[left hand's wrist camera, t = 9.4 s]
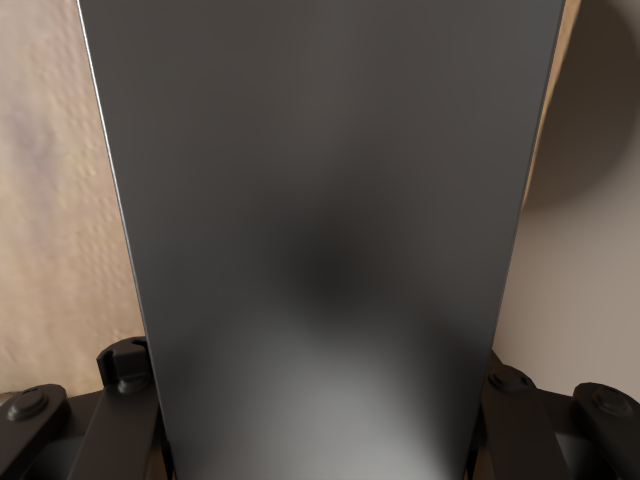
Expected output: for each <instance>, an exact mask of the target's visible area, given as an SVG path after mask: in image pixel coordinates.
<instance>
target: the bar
mask: <svg viewBox="0 0 640 480" xmlns="http://www.w3.org/2000/svg"><path fill="white" fill-rule="evenodd" d="M565 1H566V0H76V3H77V8H78V12H79V17H80V22H81V27H82V32H83V37H84V41H85V46H86V51H87V56H88V61H89V65H90V70H91V75H92V80H93V85H94V90H95V94H96V99H97V104H98V109H99V114H100V118H101V123H102V128H103V133H104V138H105V142H106V147H107V152H108V157H109V162H110V167H111V171H112V176H113V181H114V186H115V191H116V195H117V200H118V205H119V210H120V215H121V220H122V224H123V229H124V234H125V239H126V244H127V248H128V253H129V258H130V263H131V268H132V273H133V277H134V282H135V287H136V292H137V297H138V301H139V306H140V311H141V316H142V321H143V325H144V330H145V335H146V340H147V345H148V350H149V354H150V359H151V364H152V369H153V374H154V378H155V383H156V388H157V393H158V398H159V403H160V407H161V412H162V417H163V422H164V427H165V431H166V436H167V441H168V446H169V451H170V455H171V460H172V465H173V470H174V475H175V480H464V477H465V473H466V468H467V463H468V459H469V454H470V449H471V444H472V440H473V435H474V430H475V426H476V421H477V416H478V411H479V407H480V402H481V397H482V393H483V388H484V383H485V378H486V374H487V369H488V364H489V360H490V355H491V350H492V345H493V341H494V336H495V331H496V326H497V322H498V317H499V312H500V308H501V303H502V298H503V293H504V289H505V284H506V279H507V275H508V270H509V265H510V260H511V256H512V251H513V246H514V242H515V237H516V232H517V227H518V223H519V218H520V213H521V209H522V204H523V199H524V194H525V190H526V185H527V180H528V176H529V171H530V166H531V161H532V157H533V152H534V147H535V143H536V138H537V133H538V128H539V124H540V119H541V114H542V110H543V105H544V100H545V95H546V91H547V86H548V81H549V77H550V72H551V67H552V62H553V58H554V53H555V48H556V44H557V39H558V34H559V29H560V25H561V20H562V15H563V11H564V6H565Z"/></svg>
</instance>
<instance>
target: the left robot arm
mask: <svg viewBox="0 0 640 480" xmlns="http://www.w3.org/2000/svg"><path fill="white" fill-rule="evenodd" d="M96 360H97V364H98V367H99V371H100V375H101V378H102V382H103V386H104V388H103V390H100V391H97V392H93V393H89V394H84V395H80V396H75V397H71V398H68V397H67V394H66V391H65V389H64V388H63V387H62V386H60V385H55V384H46V385H40V386H36V387H32V388H29V389H27V390H24V391H22V392H20V393H7V394H0V480H175V475H174V470H173V465H172V460H171V455H170V451H169V446H168V441H167V436H166V431H165V427H164V422H163V417H162V412H161V407H160V403H159V398H158V393H157V388H156V383H155V378H154V374H153V369H152V364H151V359H150V354H149V350H148V345H147V340H146V337H145V336H142V337H132V338H128V339H124V340H121V341H119V342H116V343H114V344H112V345H110V346H109V347H107V348H106V349H105V350H103V351H102V352H101V353H100V354H99V356H98V357H97V358H96ZM464 480H640V404H639V403H638V402H637V401H635V400H634V399H633V398H631V397H630V396H628V395H627V394H625V393H623V392H621V391H619V390H617V389H615V388H612V387H609V386H606V385H603V384H598V383H591V382H589V383H581V384H579V385H578V386H577V387H575V390H574V393H573V396H572V397H571V396H567V395H562V394H558V393H553V392H549V391H544V390H541V389H538V388H536V386H535V384H534V383H533V382H532V380H531V379H530V378H529V377H528V376H526V375H525V374H524V373H523V372H521V371H519V370H517V369H515V368H513V367H511V366H508V365H504V364H502V362H501V361H500V359H499V358H498V357H497V355H496V354H495V353H494V351H493V350H491V355H490V360H489V364H488V369H487V374H486V378H485V383H484V388H483V393H482V397H481V402H480V407H479V411H478V416H477V421H476V426H475V430H474V435H473V440H472V444H471V449H470V454H469V459H468V463H467V468H466V473H465V477H464Z"/></svg>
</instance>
